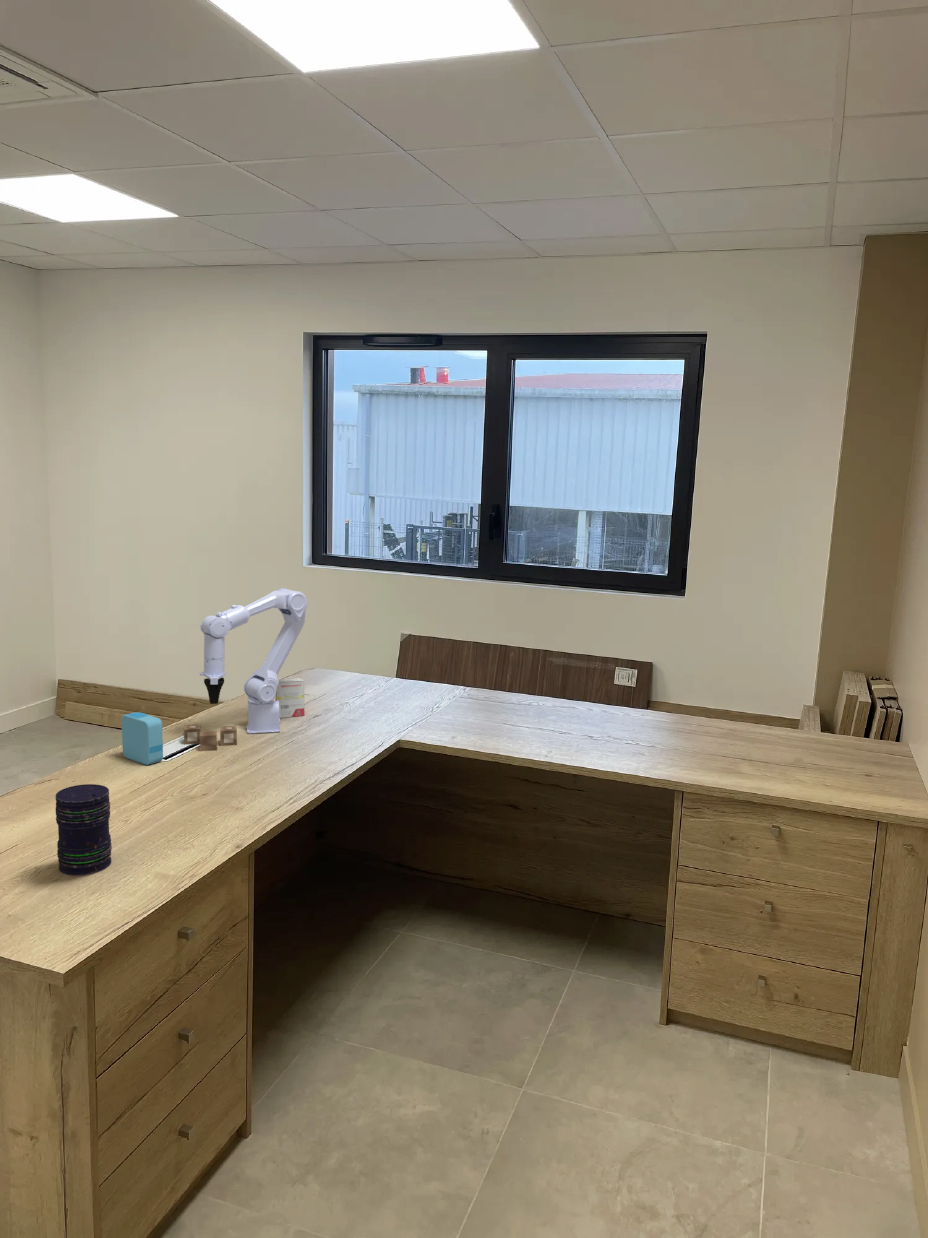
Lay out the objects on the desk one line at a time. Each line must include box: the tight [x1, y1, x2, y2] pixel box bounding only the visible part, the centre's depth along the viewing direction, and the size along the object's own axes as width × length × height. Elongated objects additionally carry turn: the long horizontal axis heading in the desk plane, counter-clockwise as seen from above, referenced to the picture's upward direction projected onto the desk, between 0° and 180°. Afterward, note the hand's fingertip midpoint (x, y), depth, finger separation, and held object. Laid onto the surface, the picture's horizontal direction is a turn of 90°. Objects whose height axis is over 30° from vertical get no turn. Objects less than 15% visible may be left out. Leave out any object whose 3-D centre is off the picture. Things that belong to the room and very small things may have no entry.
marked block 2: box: [219, 725, 238, 747], centre depth 255 cm, size 4×5×5 cm
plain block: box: [199, 730, 218, 752], centre depth 250 cm, size 4×4×4 cm
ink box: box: [274, 677, 305, 719], centre depth 285 cm, size 9×5×12 cm, turn 114°
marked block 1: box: [183, 724, 202, 745], centre depth 255 cm, size 4×5×5 cm
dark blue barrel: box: [55, 783, 113, 877], centre depth 174 cm, size 10×10×15 cm
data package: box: [121, 711, 164, 766], centre depth 238 cm, size 12×4×12 cm, turn 54°
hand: (214, 703), depth 258 cm, fingers closed
